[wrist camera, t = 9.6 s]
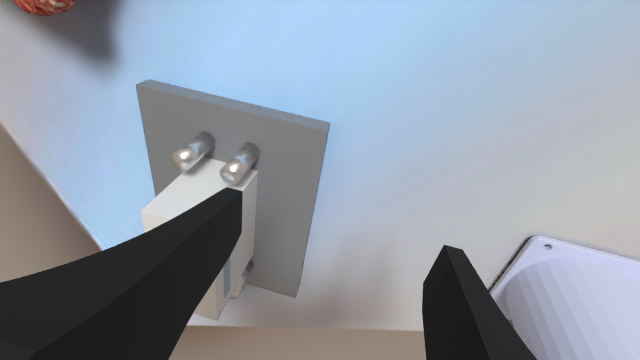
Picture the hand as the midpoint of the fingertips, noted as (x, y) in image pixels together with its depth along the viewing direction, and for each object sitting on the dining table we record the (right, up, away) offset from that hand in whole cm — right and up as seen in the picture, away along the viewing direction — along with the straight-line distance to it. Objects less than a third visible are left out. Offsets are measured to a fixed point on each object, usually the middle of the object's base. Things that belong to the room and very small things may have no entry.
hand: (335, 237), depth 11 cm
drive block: (-7, 0, +12) cm, 14 cm away
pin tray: (-7, +1, +13) cm, 15 cm away
